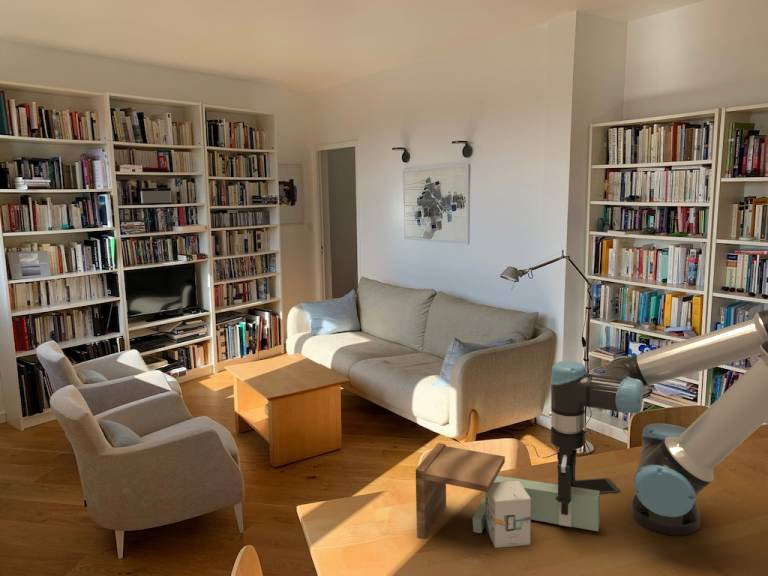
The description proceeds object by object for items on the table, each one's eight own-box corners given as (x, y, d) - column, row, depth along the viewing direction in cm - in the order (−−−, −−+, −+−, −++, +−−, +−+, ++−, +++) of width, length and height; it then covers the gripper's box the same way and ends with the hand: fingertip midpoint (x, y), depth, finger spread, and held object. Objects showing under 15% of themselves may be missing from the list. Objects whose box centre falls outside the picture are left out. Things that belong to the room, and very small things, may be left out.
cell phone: (621, 494, 153) (621, 491, 153) (570, 497, 152) (570, 495, 152) (608, 480, 161) (608, 477, 161) (559, 483, 160) (559, 481, 159)
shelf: (504, 519, 143) (504, 454, 140) (487, 554, 130) (488, 483, 127) (438, 504, 150) (438, 442, 147) (416, 536, 137) (415, 469, 134)
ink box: (484, 526, 140) (484, 482, 138) (518, 523, 141) (519, 479, 139) (494, 548, 132) (495, 501, 130) (531, 545, 133) (532, 498, 130)
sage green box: (599, 522, 138) (599, 490, 137) (593, 555, 126) (593, 521, 125) (488, 503, 150) (487, 474, 149) (473, 531, 138) (471, 500, 137)
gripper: (556, 412, 145) (555, 499, 149) (544, 440, 130) (544, 536, 134) (588, 416, 142) (586, 504, 146) (580, 445, 126) (578, 543, 130)
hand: (566, 519), depth 140 cm, fingers closed on sage green box, 4 cm apart
